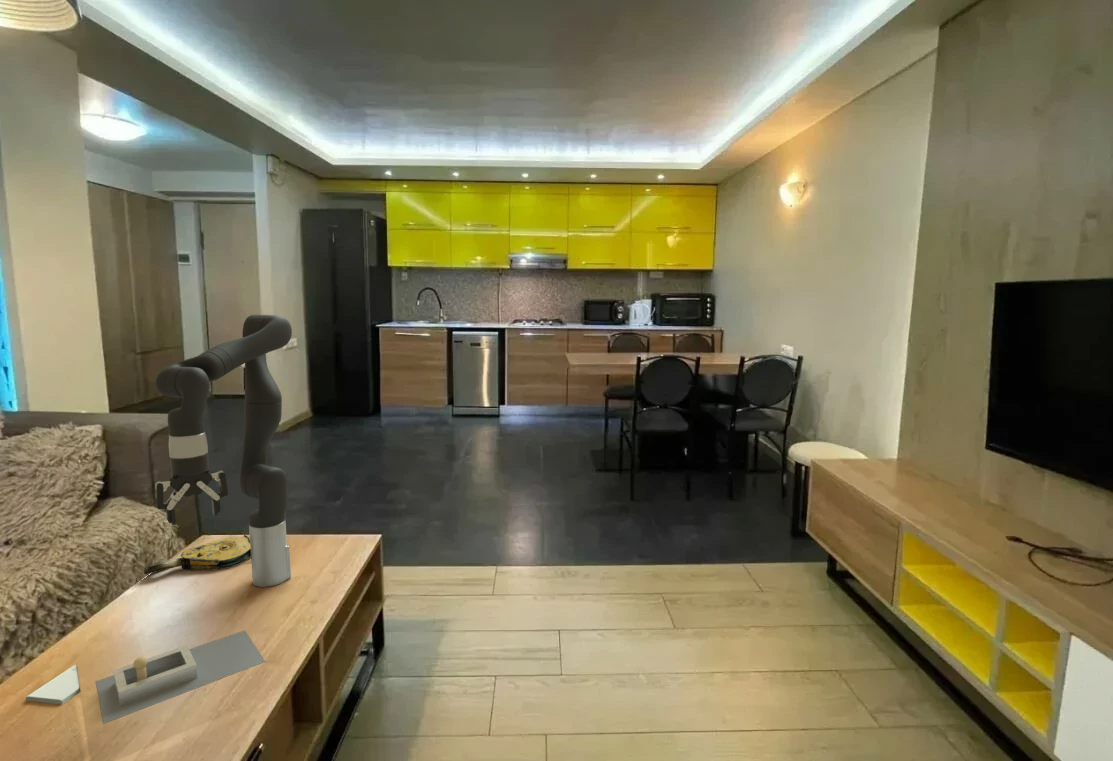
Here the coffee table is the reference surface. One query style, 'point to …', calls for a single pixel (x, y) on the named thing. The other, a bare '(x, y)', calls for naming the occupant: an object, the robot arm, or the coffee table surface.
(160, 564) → the pulley block
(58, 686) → the external hard drive
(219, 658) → the board
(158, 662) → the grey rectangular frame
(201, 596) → the coffee table surface
